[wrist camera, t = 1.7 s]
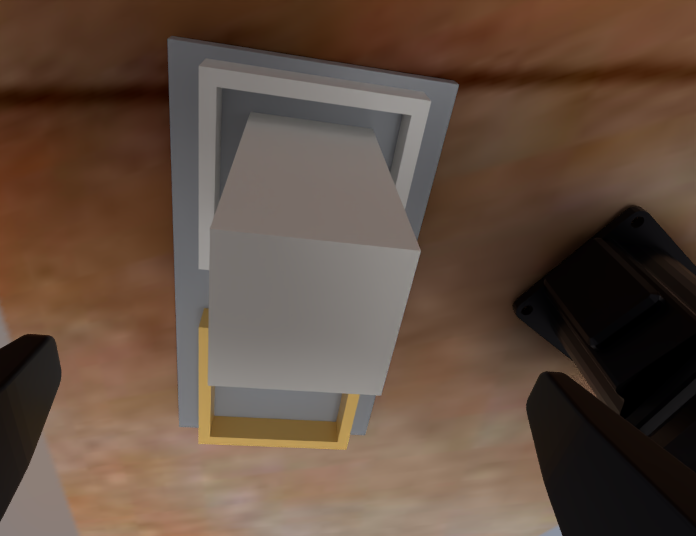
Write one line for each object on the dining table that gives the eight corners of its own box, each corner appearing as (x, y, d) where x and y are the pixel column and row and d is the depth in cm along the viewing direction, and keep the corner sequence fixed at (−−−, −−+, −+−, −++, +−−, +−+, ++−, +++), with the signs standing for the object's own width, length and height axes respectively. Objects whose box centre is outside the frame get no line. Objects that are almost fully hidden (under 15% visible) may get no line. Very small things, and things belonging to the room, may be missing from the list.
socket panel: (172, 35, 15) (157, 44, 13) (454, 80, 16) (469, 93, 15) (181, 416, 24) (173, 448, 22) (363, 425, 25) (367, 455, 24)
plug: (250, 112, 16) (209, 229, 9) (372, 129, 16) (421, 251, 10) (243, 237, 18) (207, 404, 11) (350, 248, 19) (376, 413, 12)
